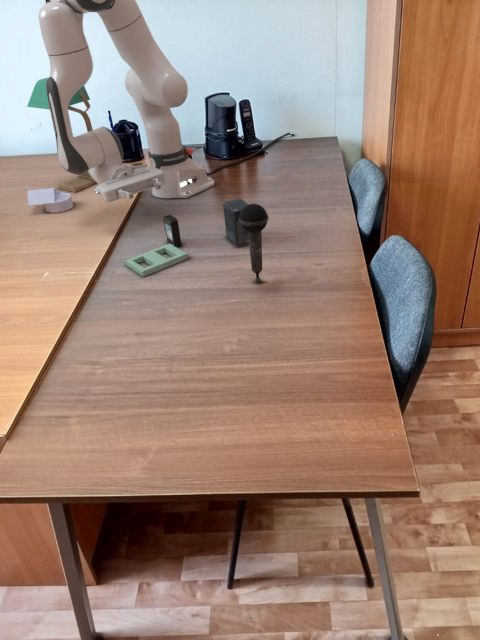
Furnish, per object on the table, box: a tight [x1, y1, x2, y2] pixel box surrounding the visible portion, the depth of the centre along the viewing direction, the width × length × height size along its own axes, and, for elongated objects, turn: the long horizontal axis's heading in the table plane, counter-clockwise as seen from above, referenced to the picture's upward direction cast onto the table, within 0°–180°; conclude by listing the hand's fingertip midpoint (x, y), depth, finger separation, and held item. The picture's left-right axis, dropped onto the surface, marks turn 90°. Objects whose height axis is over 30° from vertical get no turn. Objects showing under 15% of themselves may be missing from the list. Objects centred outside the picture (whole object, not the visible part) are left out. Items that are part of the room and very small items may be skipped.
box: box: [222, 198, 249, 248], centre depth 148 cm, size 8×6×11 cm
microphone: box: [239, 203, 269, 283], centre depth 126 cm, size 7×7×20 cm
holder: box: [125, 243, 189, 277], centre depth 143 cm, size 14×9×2 cm, turn 130°
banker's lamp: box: [26, 76, 98, 193], centre depth 187 cm, size 16×21×35 cm
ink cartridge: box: [162, 214, 182, 248], centre depth 149 cm, size 5×2×8 cm, turn 34°
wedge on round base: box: [27, 187, 74, 214], centre depth 177 cm, size 9×7×13 cm
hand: (145, 191), depth 152 cm, fingers open, 8 cm apart
